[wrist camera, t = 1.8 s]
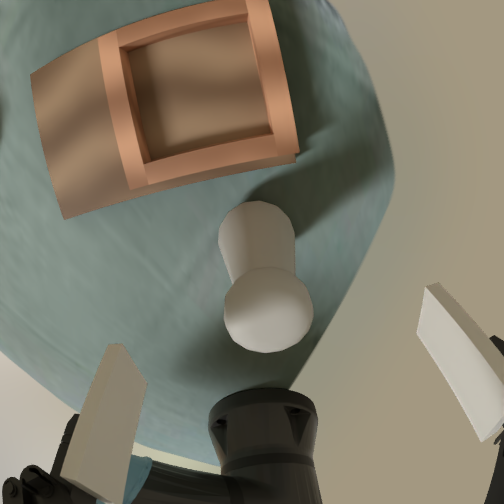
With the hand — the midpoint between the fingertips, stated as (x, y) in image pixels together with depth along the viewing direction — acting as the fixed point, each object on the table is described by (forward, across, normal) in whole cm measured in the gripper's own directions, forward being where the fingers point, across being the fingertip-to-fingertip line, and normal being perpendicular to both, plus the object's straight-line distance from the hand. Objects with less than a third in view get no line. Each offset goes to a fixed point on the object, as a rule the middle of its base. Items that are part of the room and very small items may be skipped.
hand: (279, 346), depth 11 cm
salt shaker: (+15, 0, 0) cm, 15 cm away
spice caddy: (+14, +6, -12) cm, 20 cm away
